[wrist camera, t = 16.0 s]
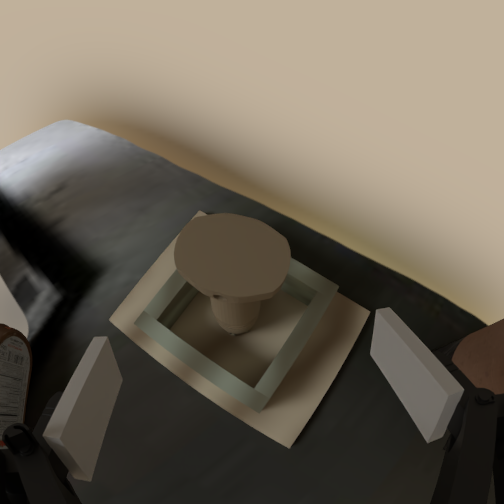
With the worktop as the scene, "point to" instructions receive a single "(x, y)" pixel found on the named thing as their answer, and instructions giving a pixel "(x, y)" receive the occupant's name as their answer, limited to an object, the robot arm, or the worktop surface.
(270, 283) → the handle
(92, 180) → the worktop surface
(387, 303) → the worktop surface
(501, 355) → the travel mug
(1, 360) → the tin
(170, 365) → the socket board
